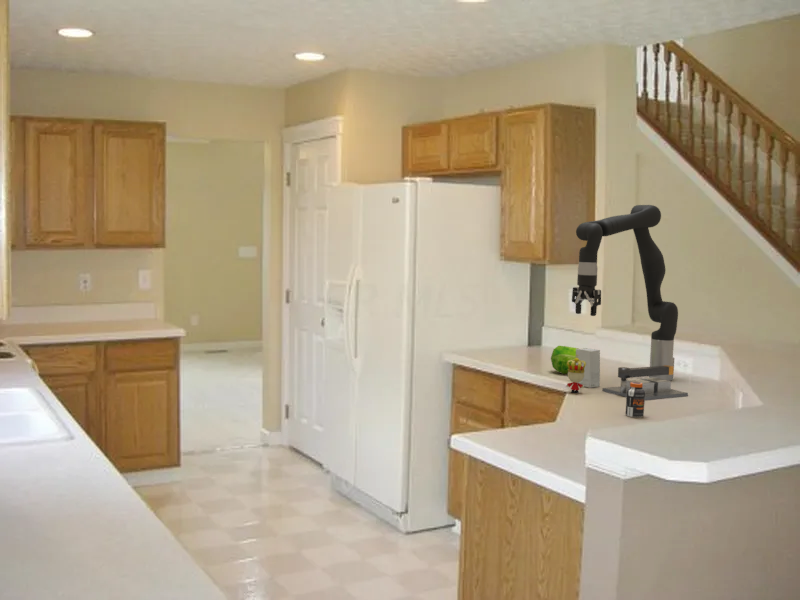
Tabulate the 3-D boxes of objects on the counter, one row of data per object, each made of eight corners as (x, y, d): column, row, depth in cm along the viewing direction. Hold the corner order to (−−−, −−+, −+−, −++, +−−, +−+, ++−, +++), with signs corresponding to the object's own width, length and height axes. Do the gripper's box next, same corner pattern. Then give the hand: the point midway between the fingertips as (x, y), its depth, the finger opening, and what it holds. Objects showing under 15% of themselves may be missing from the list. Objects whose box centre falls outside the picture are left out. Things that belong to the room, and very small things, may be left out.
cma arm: (665, 372, 349) (666, 363, 349) (674, 374, 345) (675, 365, 345) (615, 376, 336) (615, 367, 335) (623, 378, 332) (624, 369, 332)
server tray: (648, 386, 356) (649, 370, 356) (687, 396, 339) (688, 378, 338) (602, 391, 344) (603, 374, 343) (640, 400, 326) (641, 382, 326)
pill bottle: (632, 418, 295) (634, 384, 294) (621, 414, 300) (623, 381, 299) (647, 417, 297) (649, 383, 296) (636, 413, 303) (637, 380, 302)
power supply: (636, 388, 345) (637, 377, 345) (653, 392, 337) (654, 381, 337) (623, 389, 341) (623, 379, 341) (640, 393, 334) (641, 383, 333)
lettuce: (598, 377, 375) (599, 349, 374) (550, 375, 378) (551, 347, 377) (596, 372, 388) (597, 345, 387) (549, 370, 391) (550, 343, 390)
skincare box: (599, 387, 352) (601, 350, 351) (589, 388, 349) (590, 350, 348) (584, 383, 359) (586, 347, 358) (573, 384, 356) (575, 348, 355)
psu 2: (653, 386, 350) (653, 376, 349) (670, 390, 342) (671, 380, 341) (640, 388, 346) (640, 377, 346) (657, 392, 338) (658, 381, 338)
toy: (585, 392, 340) (587, 353, 339) (583, 395, 333) (585, 355, 332) (567, 390, 342) (568, 352, 341) (564, 393, 336) (566, 354, 334)
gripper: (607, 274, 344) (605, 316, 345) (582, 272, 356) (580, 312, 358) (592, 275, 340) (590, 317, 342) (568, 272, 352) (566, 313, 354)
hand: (585, 314), depth 350 cm, fingers open, 8 cm apart
